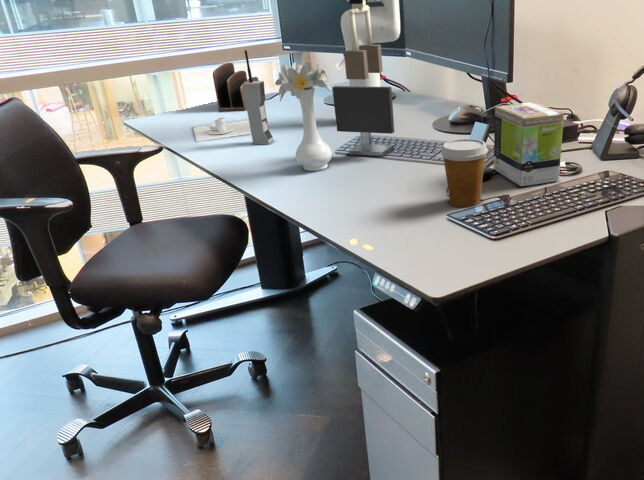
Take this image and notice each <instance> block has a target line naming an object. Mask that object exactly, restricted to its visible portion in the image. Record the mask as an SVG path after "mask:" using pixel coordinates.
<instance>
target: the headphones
mask: <svg viewBox="0 0 644 480" xmlns="http://www.w3.org/2000/svg"><path fill="white" fill-rule="evenodd" d="M369 7H370V6H369V5H367V2H366V0H363V3H362V4H351V10H350V9H348V10H349V19H350V30H351V41H352V50H346V49H345V50H343V57H344V67H345V68H344V69H345V77H346V78H345V79H346V80H349V79H362V80H365V79H368V78H369V76H368V73H380V74H381V73H382V72H383V71H384V70H383V58H382V57H383V56H382V44H372V35H371V23H370V10H369ZM362 12H365V24H366V36H367V45H360V46H359V50H358V49H357V37H356V26H355V14H359V13H362Z"/></svg>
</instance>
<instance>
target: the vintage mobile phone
mask: <svg viewBox="0 0 644 480" xmlns="http://www.w3.org/2000/svg"><path fill="white" fill-rule="evenodd" d="M244 56H245V62H246V68H247V75H248V76H247V77H248V79H249V81H248V82H246V83H244V84H243V90H244V96H245V102H246V107H247V109H246V112H247V118H248V120H249V124H250V129H251V134H250V135H251V140H252V144H253V145H270V144H271V143H273V142H274V137H273V135H272V133H271V132H270V129H269V124H268V117H267V112H266V106H265V102H266V91H265V81H264V80H259V81H253V80H252V77H253V76H252V75H253V74H252V71H251V67H250V61H249V56H248V50H247V49H245V50H244Z"/></svg>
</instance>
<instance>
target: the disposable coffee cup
mask: <svg viewBox="0 0 644 480" xmlns="http://www.w3.org/2000/svg"><path fill="white" fill-rule="evenodd" d="M488 152H489V148H488V147H487V144H486V142H485V141H484V140H481V139H476V138H458V139H457V138H456V139H453V140H448V141H446V142H445V143H443V144H442V149H441V150H440V154H441V156H442V158H443V164H444V171H445V179H446V183H447V184H446V186H447V190H448V197H449V203H450V204H451V205H452V206H455V207H460V208H461V207H464V208H465V207H472V206H475V205H477V204H479V203H480V202H481V194H482V188H483V187H482V186H483V178H484V171H485V164H486V163H485V162H486V156H487V154H488Z"/></svg>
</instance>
